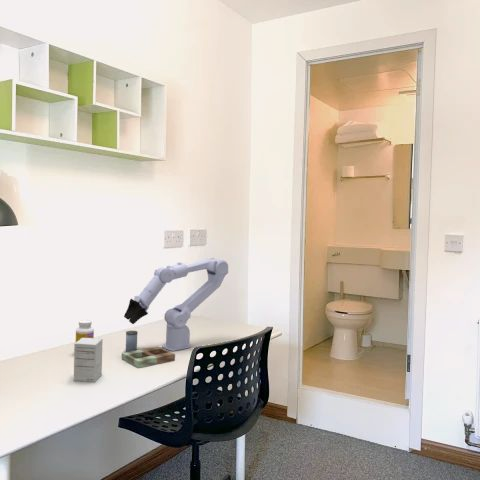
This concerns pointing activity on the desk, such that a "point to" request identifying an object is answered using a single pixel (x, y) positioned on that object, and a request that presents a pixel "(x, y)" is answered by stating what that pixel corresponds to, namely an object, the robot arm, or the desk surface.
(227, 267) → the robot arm
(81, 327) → the supplement bottle
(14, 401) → the desk surface
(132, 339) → the tube
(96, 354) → the supplement box
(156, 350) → the rack
